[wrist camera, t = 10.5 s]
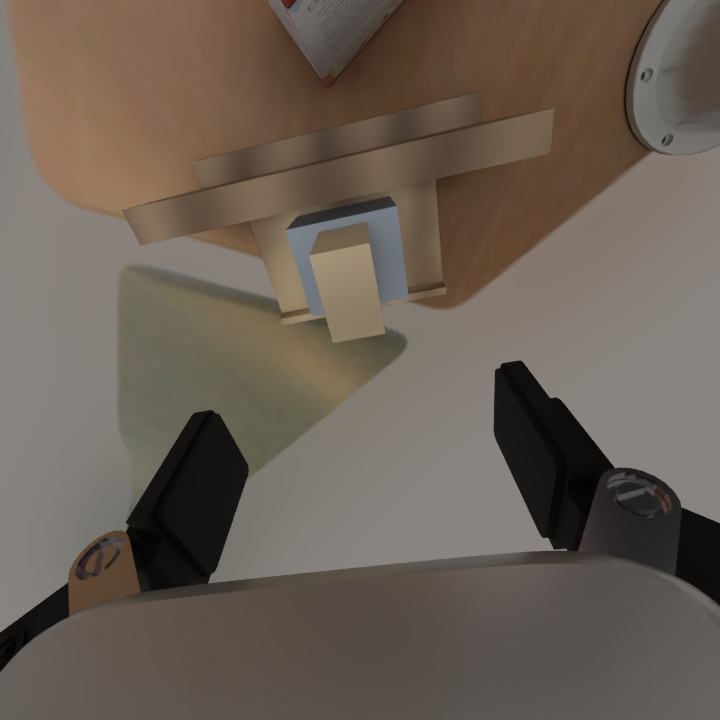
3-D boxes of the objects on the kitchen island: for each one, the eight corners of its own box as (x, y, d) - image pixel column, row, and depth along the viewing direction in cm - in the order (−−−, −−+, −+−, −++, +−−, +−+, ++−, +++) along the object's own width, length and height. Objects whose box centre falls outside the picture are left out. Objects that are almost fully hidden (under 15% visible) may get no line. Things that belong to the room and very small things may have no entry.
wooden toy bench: (475, 93, 27) (558, 56, 16) (477, 254, 34) (536, 305, 23) (196, 162, 29) (100, 171, 18) (251, 299, 36) (206, 366, 25)
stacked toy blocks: (389, 195, 24) (409, 223, 16) (400, 277, 28) (422, 338, 19) (297, 216, 25) (266, 253, 16) (318, 293, 28) (302, 359, 20)
